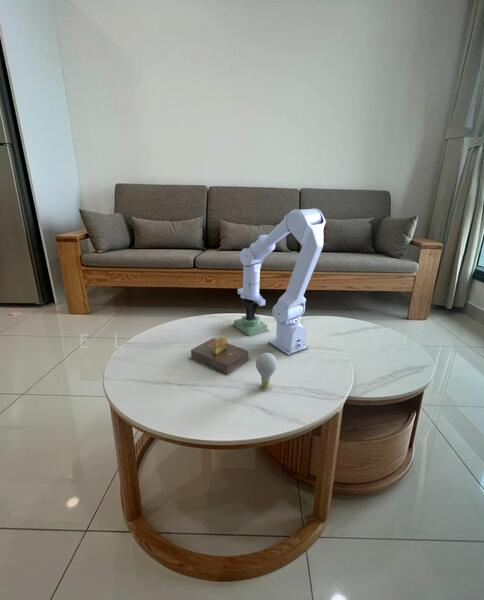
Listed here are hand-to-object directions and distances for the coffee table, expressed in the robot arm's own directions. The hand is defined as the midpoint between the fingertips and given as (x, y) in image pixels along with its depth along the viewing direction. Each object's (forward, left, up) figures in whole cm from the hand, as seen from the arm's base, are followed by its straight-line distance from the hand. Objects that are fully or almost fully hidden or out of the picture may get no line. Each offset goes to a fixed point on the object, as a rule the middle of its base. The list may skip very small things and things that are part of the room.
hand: (250, 318), depth 117 cm
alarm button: (0, 0, -2) cm, 2 cm away
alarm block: (0, 0, -4) cm, 4 cm away
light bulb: (-32, +17, -4) cm, 36 cm away
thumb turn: (-13, +20, -1) cm, 24 cm away
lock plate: (-13, +20, -4) cm, 24 cm away
